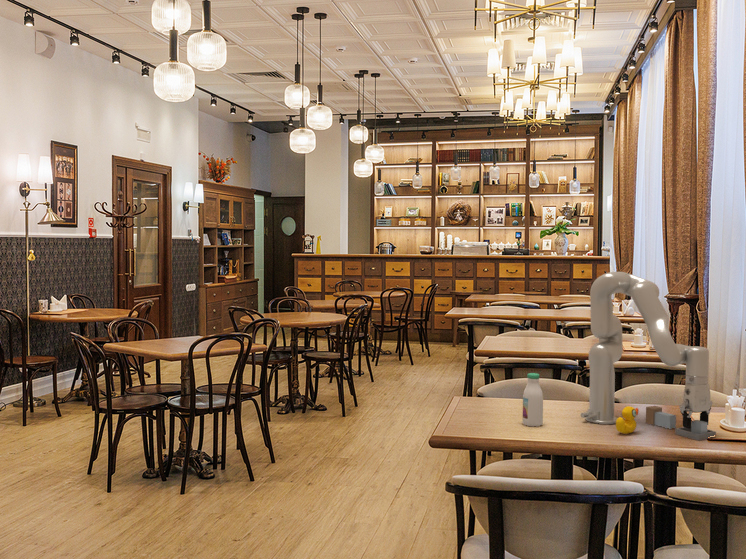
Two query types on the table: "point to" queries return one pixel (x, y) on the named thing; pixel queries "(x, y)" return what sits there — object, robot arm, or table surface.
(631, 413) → the duckling
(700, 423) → the stub
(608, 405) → the robot arm
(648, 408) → the grey and brown blocks
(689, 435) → the dish
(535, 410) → the milk bottle
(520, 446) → the table surface
